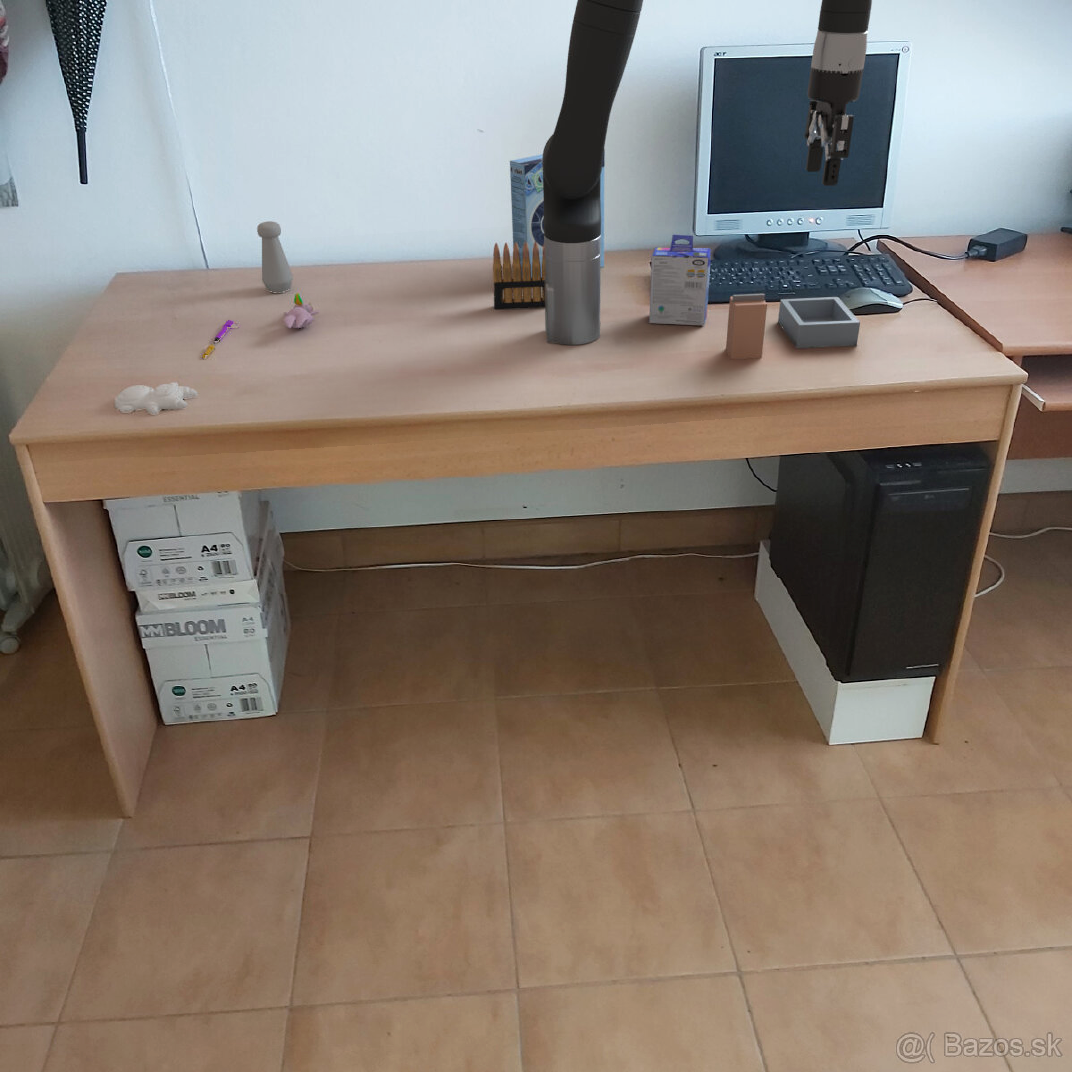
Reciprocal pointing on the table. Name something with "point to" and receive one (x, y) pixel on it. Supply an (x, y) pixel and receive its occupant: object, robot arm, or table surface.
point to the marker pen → (218, 337)
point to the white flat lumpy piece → (153, 397)
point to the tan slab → (746, 326)
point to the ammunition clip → (518, 279)
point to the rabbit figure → (299, 314)
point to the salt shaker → (273, 259)
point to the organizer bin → (818, 322)
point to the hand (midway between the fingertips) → (820, 178)
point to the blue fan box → (535, 205)
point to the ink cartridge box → (679, 283)
